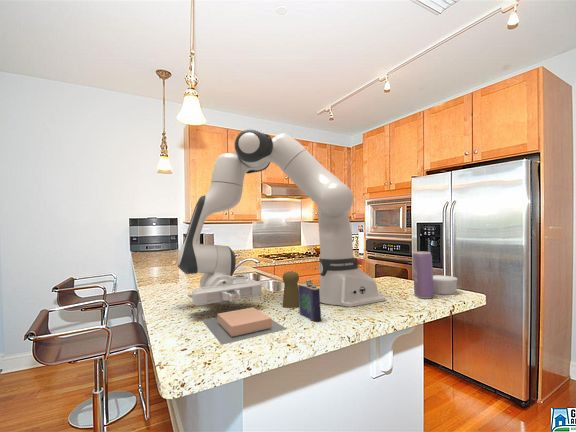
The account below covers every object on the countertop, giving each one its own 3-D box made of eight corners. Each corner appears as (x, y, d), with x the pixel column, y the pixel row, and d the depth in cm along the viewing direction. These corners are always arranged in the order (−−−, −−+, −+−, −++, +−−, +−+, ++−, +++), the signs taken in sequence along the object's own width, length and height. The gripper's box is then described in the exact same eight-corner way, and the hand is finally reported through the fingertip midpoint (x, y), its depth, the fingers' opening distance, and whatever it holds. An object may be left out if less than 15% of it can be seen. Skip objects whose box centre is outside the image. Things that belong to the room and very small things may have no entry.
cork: (299, 310, 84) (298, 273, 85) (280, 309, 86) (279, 273, 86) (302, 304, 90) (301, 270, 91) (284, 304, 91) (283, 270, 92)
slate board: (256, 312, 84) (256, 310, 84) (287, 331, 67) (287, 328, 67) (202, 322, 76) (202, 320, 76) (221, 347, 60) (221, 344, 60)
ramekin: (434, 287, 108) (433, 273, 108) (465, 292, 99) (464, 277, 99) (416, 291, 102) (416, 277, 102) (447, 297, 93) (446, 281, 93)
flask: (297, 315, 79) (296, 277, 80) (306, 314, 81) (305, 276, 81) (315, 325, 71) (313, 282, 71) (324, 323, 72) (323, 281, 73)
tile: (253, 307, 78) (271, 318, 68) (253, 316, 78) (272, 328, 68) (217, 313, 74) (231, 326, 63) (217, 323, 73) (231, 338, 63)
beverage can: (437, 298, 91) (434, 252, 92) (419, 299, 91) (416, 253, 92) (428, 294, 97) (426, 251, 98) (411, 295, 97) (409, 251, 98)
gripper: (186, 283, 84) (195, 291, 71) (251, 275, 93) (268, 281, 81) (187, 304, 83) (196, 316, 71) (251, 294, 93) (269, 303, 81)
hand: (235, 297), depth 76 cm, fingers closed
